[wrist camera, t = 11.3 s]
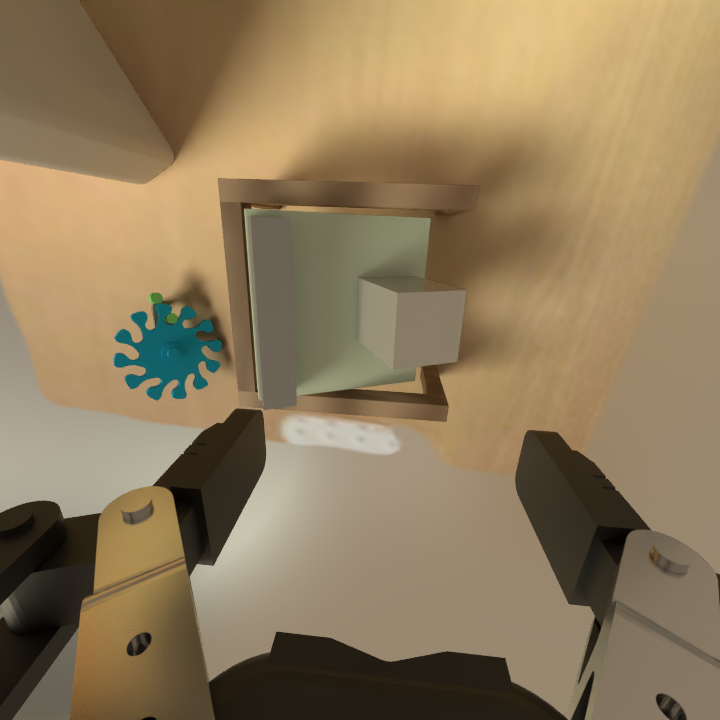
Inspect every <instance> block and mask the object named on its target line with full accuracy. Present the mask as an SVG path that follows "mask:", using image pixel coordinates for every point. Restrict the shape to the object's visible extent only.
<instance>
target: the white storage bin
mask: <svg viewBox="0 0 720 720" xmlns="http://www.w3.org/2000/svg"><path fill="white" fill-rule="evenodd" d="M174 156H175V155H174V153H173V150H172V148H171V147H170V145H169V143H168V142H167V140H166V139H165V137H164V135H163V134H162V132H161V131H160V129H159V127H158V126H157V124H156V123H155V121H154V119H153V118H152V116H151V115H150V113H149V111H148V110H147V108H146V107H145V105H144V103H143V102H142V100H141V99H140V97H139V95H138V94H137V92H136V91H135V89H134V87H133V86H132V84H131V82H130V81H129V79H128V78H127V76H126V74H125V73H124V71H123V70H122V68H121V66H120V65H119V63H118V62H117V60H116V58H115V57H114V55H113V54H112V52H111V50H110V49H109V47H108V46H107V44H106V42H105V41H104V39H103V38H102V36H101V34H100V33H99V31H98V29H97V28H96V26H95V25H94V23H93V21H92V20H91V18H90V17H89V15H88V13H87V12H86V10H85V9H84V7H83V5H82V4H81V2H80V1H79V0H0V160H4V161H9V162H15V163H21V164H26V165H32V166H38V167H43V168H49V169H54V170H60V171H66V172H71V173H77V174H83V175H88V176H94V177H99V178H105V179H111V180H116V181H122V182H127V183H133V184H145V183H147V182H149V181H150V180H152V179H153V178H154V177H156V176H157V175H158V174H160V173H161V172H162V171H164V170H165V169H166V168H168V167H169V166H170V165H171V164H172V163H173V162H174Z"/></svg>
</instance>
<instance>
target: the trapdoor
mask: <svg viewBox="0 0 720 720" xmlns="http://www.w3.org/2000/svg"><path fill="white" fill-rule="evenodd" d="M244 214H245V228H246V241H247V254H248V268H249V281H250V295H251V308H252V321H253V335H254V348H255V362H256V375H257V388H258V397H259V401H260V400H262V404H263V408H264V410H268V409H275V408H283V407H290V406H297V396H299V395H307V394H315V393H322V392H330V391H338V390H346V389H353V388H361V387H369V386H377V385H385V384H392V383H400V382H408V381H415V375H416V367H413V368H405V369H397V370H392V369H391V368H390V367H389V366H388V365H386V364H385V363H384V362H383V361H382V360H380V359H379V358H378V357H377V356H376V355H374V354H373V353H372V352H371V351H370V350H368V349H367V348H366V347H365V346H364V345H363V344H361V343H360V342H359V341H358V340H357V339H356V319H357V277H396V276H416V277H420V278H423V279H425V273H426V262H427V252H428V242H429V232H430V222H431V218H416V217H397V216H377V215H358V214H338V213H319V212H300V211H280V210H261V209H244Z"/></svg>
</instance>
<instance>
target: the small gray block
mask: <svg viewBox="0 0 720 720" xmlns="http://www.w3.org/2000/svg"><path fill="white" fill-rule="evenodd" d="M466 293H467V290H464V289H461V288H457V287H453V286H449V285H446V284H442V283H438V282H435V281H431V280H427V279H423V278H420V277H416V276H396V277H357V319H356V339H357V340H358V341H359V342H360V343H361V344H363V345H364V346H365V347H366V348H367V349H368V350H370V351H371V352H372V353H373V354H374V355H376V356H377V357H378V358H379V359H380V360H382V361H383V362H384V363H385V364H386V365H388V366H389V367H390V368H391V369H392V370H397V369H405V368H413V367H421V366H429V365H437V364H445V363H453V362H457V361H458V353H459V346H460V338H461V331H462V323H463V316H464V308H465V300H466Z"/></svg>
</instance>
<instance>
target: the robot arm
mask: <svg viewBox="0 0 720 720" xmlns="http://www.w3.org/2000/svg"><path fill="white" fill-rule="evenodd" d="M265 461H266V444H265V431H264V418H263V413H262V411H261V410H252V409H238V408H237V409H235V410H234V411H233V412H232V413H231V415H230V416H229V417H228V418H227V419H226V420H225V422H224V423H216V424H215V425H213V426H211V427H210V428H208V429H206V430H204V431H203V432H202V433H201V434H200V435H199V436H198V437H197V438H196V439H195V440H194V441H193V443H192V445H190V446H189V447H188V448H187V449H186V450H185V451H184V454H181V456H180V457H179V458H178V459H177V460H176V461H175V462H174V463H173V464H172V465H171V466H170V467H169V468H168V470H167V471H166V472H165V473H164V474H163V475H162V476H161V477H160V478H159V479H158V481H157V482H156V483H155V484H154V485H153V486H149V487H143V488H139V489H135V490H132V491H130V492H128V493H125V494H123V495H121V496H120V497H118V498H117V499H115V500H114V501H112V502H111V503H110V504H109V505H108V506H107V507H106V508H105V509H104V510H103V512H102V513H99V514H92V515H85V516H79V517H72V518H66V519H64V518H63V515H62V512H61V510H60V507H59V506H58V504H56V503H55V502H51V501H35V502H29V503H25V504H22V505H18V506H16V507H13V508H10V509H8V510H6V511H4V512H2V513H0V611H1V613H2V615H3V617H2V618H1V619H0V720H12V719H13V718H14V716H15V715H16V713H17V712H18V710H19V709H20V708H21V706H22V705H23V704H24V702H25V701H26V699H27V698H28V697H29V695H30V694H31V693H32V691H33V690H34V688H35V687H36V686H37V684H38V683H39V681H40V680H41V679H42V677H43V676H44V675H45V673H46V672H47V670H48V669H49V667H50V666H51V665H52V663H53V662H54V661H55V659H56V658H57V656H58V655H59V654H60V652H61V651H62V650H63V648H64V647H65V645H66V644H67V643H68V641H69V640H70V638H71V637H72V636H73V634H74V633H75V632H76V630H77V629H78V627H79V631H78V641H77V652H76V661H75V672H74V682H73V692H72V702H71V712H70V720H720V574H717V573H715V571H714V570H713V569H712V567H711V566H710V565H709V563H708V562H707V561H706V560H705V559H704V558H703V557H702V556H701V555H699V554H698V553H697V552H696V551H694V550H693V549H691V548H690V547H689V546H687V545H685V544H684V543H682V542H680V541H678V540H676V539H674V538H672V537H670V536H668V535H665V534H662V533H659V532H656V531H652V530H650V528H649V527H648V526H647V525H646V523H645V522H644V521H643V520H642V519H641V517H640V516H639V515H638V514H637V513H636V512H635V510H634V509H633V508H632V507H631V506H630V504H629V503H628V502H627V501H626V500H625V499H624V497H623V496H622V495H621V494H620V493H619V492H618V491H616V490H615V487H614V486H613V485H612V483H611V482H610V481H609V480H608V479H606V478H605V475H604V474H603V473H602V472H601V470H600V469H599V468H598V467H597V466H596V465H595V463H594V462H592V461H591V460H589V459H588V458H586V457H585V456H584V455H582V454H581V453H579V452H578V451H574V450H571V448H570V447H569V446H568V445H567V443H566V442H565V441H564V440H563V438H562V437H561V436H560V435H559V434H558V433H557V432H549V431H535V430H529V431H527V432H526V434H525V437H524V441H523V445H522V449H521V454H520V458H519V462H518V466H517V471H516V477H515V483H516V489H517V493H518V496H519V498H520V500H521V502H522V505H523V507H524V509H525V511H526V513H527V515H528V518H529V520H530V522H531V524H532V526H533V528H534V530H535V533H536V535H537V537H538V539H539V541H540V543H541V545H542V548H543V550H544V552H545V554H546V556H547V558H548V560H549V562H550V564H551V567H552V569H553V571H554V573H555V575H556V578H557V580H558V582H559V584H560V586H561V588H562V590H563V593H564V595H565V597H566V599H567V601H568V603H569V604H573V605H582V606H590V607H591V609H592V611H593V613H594V615H595V617H594V619H593V621H592V624H591V627H590V630H589V634H588V637H587V641H586V645H585V649H584V652H583V656H582V660H581V663H580V667H579V671H578V674H577V678H576V682H575V685H574V689H573V693H572V696H571V700H570V703H569V706H568V709H567V712H566V714H565V716H563V715H562V714H561V713H560V712H558V711H557V710H556V709H555V708H554V707H552V706H551V705H550V704H549V703H547V702H546V701H544V700H543V699H541V698H540V697H539V696H537V695H535V694H534V693H532V692H531V691H529V690H527V689H525V688H523V687H521V686H519V685H518V684H515V683H513V682H511V679H510V675H509V671H508V668H507V664H506V660H505V658H500V657H491V656H482V655H474V654H465V653H456V652H448V651H447V652H442V653H436V654H431V655H426V656H420V657H415V658H410V659H405V660H399V661H394V662H388V661H383V660H380V659H378V658H376V657H374V656H371V655H369V654H367V653H364V652H362V651H360V650H357V649H355V648H353V647H350V646H348V645H346V644H344V643H341V642H339V641H336V640H334V639H332V638H326V637H318V636H308V635H300V634H292V633H283V632H276V635H275V639H274V642H273V645H272V649H271V652H270V653H265V654H261V655H258V656H255V657H252V658H249V659H246V660H244V661H242V662H240V663H238V664H236V665H234V666H232V667H231V668H229V669H227V670H226V671H224V672H222V673H221V674H219V675H218V676H217V677H215V678H214V679H213V680H211V681H210V679H209V674H208V669H207V664H206V659H205V654H204V649H203V644H202V639H201V634H200V628H199V624H198V618H197V613H196V608H195V602H194V597H193V592H192V587H191V582H190V575H191V573H192V571H193V570H194V568H195V566H196V565H197V564H202V565H212V566H213V565H214V564H215V562H216V560H217V558H218V556H219V554H220V552H221V550H222V548H223V546H224V545H225V543H226V541H227V539H228V537H229V535H230V533H231V531H232V529H233V528H234V526H235V524H236V521H237V520H238V518H239V516H240V514H241V512H242V510H243V508H244V507H245V505H246V503H247V501H248V499H249V497H250V495H251V493H252V491H253V489H254V488H255V485H256V484H257V482H258V480H259V478H260V476H261V474H262V472H263V469H264V466H265Z"/></svg>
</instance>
